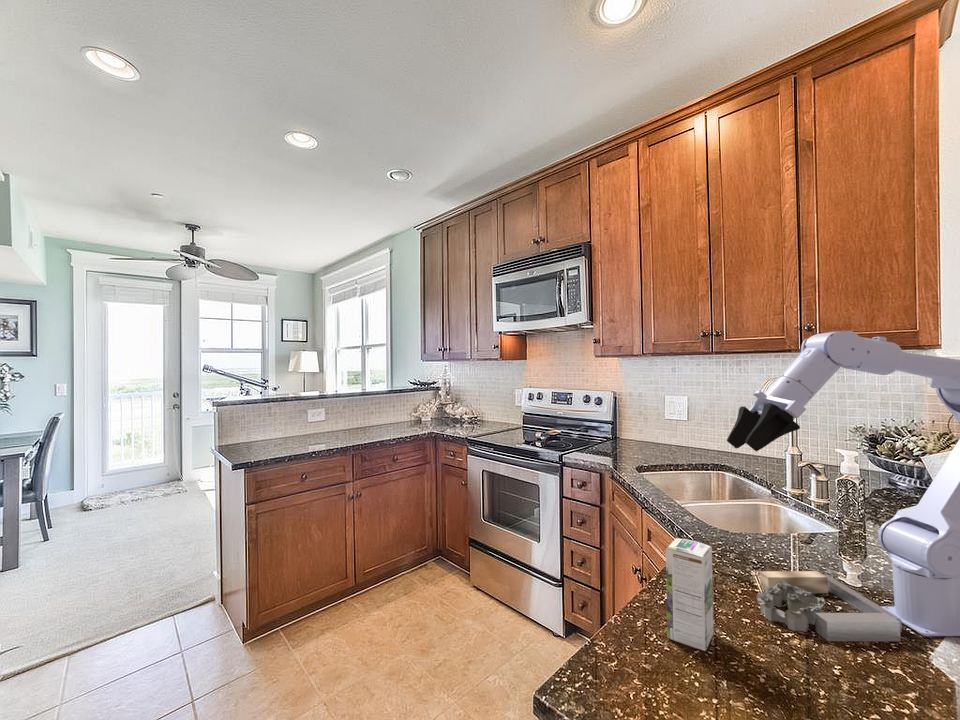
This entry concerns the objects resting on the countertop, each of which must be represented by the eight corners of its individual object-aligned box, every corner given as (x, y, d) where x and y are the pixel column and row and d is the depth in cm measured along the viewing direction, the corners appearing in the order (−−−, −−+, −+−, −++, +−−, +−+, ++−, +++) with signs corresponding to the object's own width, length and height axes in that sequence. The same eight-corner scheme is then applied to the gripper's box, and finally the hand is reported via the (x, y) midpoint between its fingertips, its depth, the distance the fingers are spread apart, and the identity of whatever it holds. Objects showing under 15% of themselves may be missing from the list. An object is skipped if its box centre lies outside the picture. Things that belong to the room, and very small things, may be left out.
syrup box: (676, 622, 73) (673, 536, 73) (715, 635, 69) (712, 544, 70) (667, 639, 68) (663, 547, 69) (708, 653, 65) (704, 556, 65)
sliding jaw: (818, 586, 83) (817, 571, 84) (828, 593, 81) (827, 577, 81) (760, 586, 84) (760, 571, 84) (768, 593, 81) (768, 577, 81)
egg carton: (802, 637, 68) (801, 611, 69) (752, 615, 75) (751, 592, 75) (831, 616, 74) (829, 592, 74) (782, 597, 80) (781, 575, 80)
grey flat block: (827, 584, 84) (826, 569, 84) (917, 641, 66) (916, 621, 66) (757, 584, 85) (756, 569, 85) (827, 641, 67) (826, 621, 67)
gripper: (755, 376, 81) (706, 428, 82) (797, 366, 67) (739, 429, 67) (787, 402, 80) (738, 455, 80) (838, 397, 66) (777, 461, 66)
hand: (740, 445), depth 74 cm, fingers open, 7 cm apart
